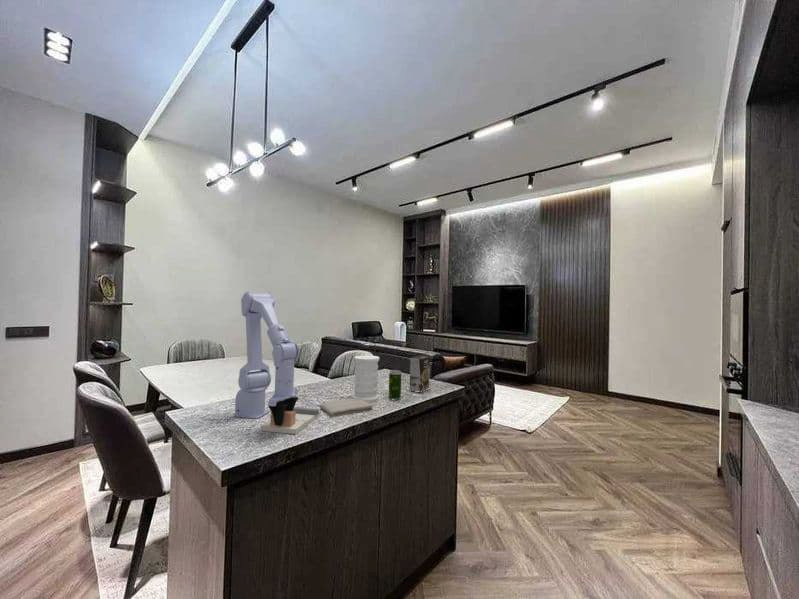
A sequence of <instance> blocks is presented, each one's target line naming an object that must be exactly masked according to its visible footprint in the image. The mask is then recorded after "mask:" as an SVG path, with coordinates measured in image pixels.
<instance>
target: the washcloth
mask: <svg viewBox="0 0 799 599" xmlns="http://www.w3.org/2000/svg"><path fill="white" fill-rule="evenodd" d="M319 408H320V409H321V410H322V411H323V412H326V414H328V415H329V416H330V417H333V418H334V417H340V416H344V415H351V414H352V415H353V414H356V413H357V414H358V413H364V412H363V411H365V412H370V411H369V410H371V411H374V410H373V404H371V403H367V402H366V401H364V400H362V399H360V398H357V399H352V398H349V397H347V398H344V399H337V400H336V399H335V400H331V401H330V400H329V401H323V402H322V403H321V404H320V405H319Z"/></svg>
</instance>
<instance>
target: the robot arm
mask: <svg viewBox="0 0 799 599" xmlns="http://www.w3.org/2000/svg"><path fill="white" fill-rule="evenodd" d="M240 302H241V303H240V304H241V306H240V307H241V315H242V316H243V317H245V332H246V337H245V338H246V358H247V359H246V360H247V361H246V363H245V364H244V365H243V366H242V367H241V368H240V369H239V374H238V375H239V376H238V379H237V382H238V387H239V390H238V391H237V392H236V395H235V405H234V407H235V408H234V414H233V417H237V418H246V419H260V418H261V417H263V416H265V415H267V414H269V413H271V412H272V415H273V418H274V423H275V425H276V426H282V424H283V418H284V412H285V411H293V409H294V407H295V405H297V404H296V403H297V402H298V400H299V396H297V395H298V388H294V382H295V381H294V380H295V360H297V358H298V357H299V346H298V344H297V343H296V342H295V341H293V340H292V339H290V336H289V335H288V332H287V331H286V328H285V326H284V325H283V324H280V323H279V320H278V317H277V314H276V310H275V304H276V299H275V296H274V294H273V293H271V292H250V291H246V292H244V293H243V295H242V296H241V301H240ZM261 319H263V320H264V322H265V324H266V326H267V328H268V329H267V330H266V333H267V336H268V338H269V341H270V343H271V346H272V348H273V349H272V352H271V354H272V359H273V365H274V367H275V369H274V371H275V373H274V374H275V375H274V393H273V395H272V396H271V398H269V399H268V405H267V407H268V408H269V410H267V409H266V408H265V406H266V390H268V387H269V386H270V384H271V383H272V374H271V371H270V367H269V365H267V363H265V362H263V345H262V344H263V343H262V342H263V341H262V323H261Z"/></svg>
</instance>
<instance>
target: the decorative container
mask: <svg viewBox="0 0 799 599" xmlns="http://www.w3.org/2000/svg"><path fill="white" fill-rule="evenodd" d="M379 361H380V356H377V355H364V354H363V355H361V354H360V355H356V356H354V362H355V364H354V368H355V369H354V370H355V372H354V381H353V382H354V388H353V389H354V390H353V391H354V394H352V396H351V399H357V398H360V399H362V400H364V401H366V402H370V403H374V402H373V401H375V402H377V400H378V399H380V395H379V394H377V393H378V383H379V381H378V375H379V372H378V369H379V364H378V363H379ZM378 401H379V400H378Z"/></svg>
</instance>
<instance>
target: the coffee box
mask: <svg viewBox="0 0 799 599" xmlns="http://www.w3.org/2000/svg"><path fill="white" fill-rule="evenodd" d="M430 371H431V356H423V355H418V356H412V357H410V367H409V387H408V388H409V389H408V390H413V391H419V392H421V391H424V390H426V389H428V388H429V389H430V380H431V379H430V373H431V372H430Z"/></svg>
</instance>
